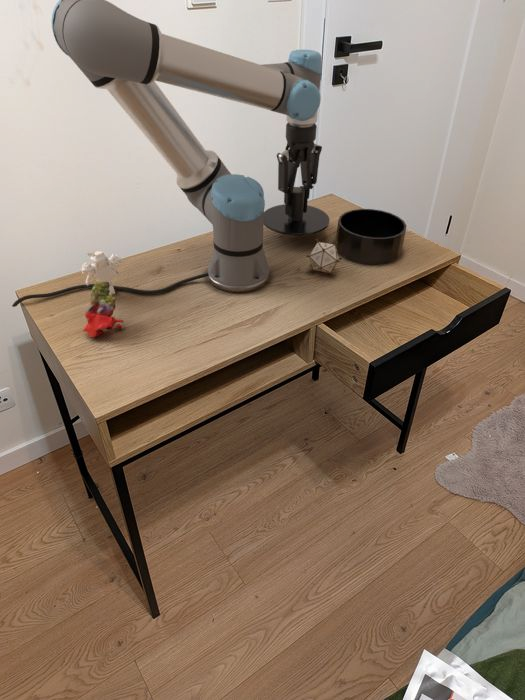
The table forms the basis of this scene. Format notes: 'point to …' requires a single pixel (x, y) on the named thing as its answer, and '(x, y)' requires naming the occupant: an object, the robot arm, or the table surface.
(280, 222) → the pan lid
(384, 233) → the pan
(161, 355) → the table surface
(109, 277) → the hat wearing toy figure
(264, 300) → the table surface
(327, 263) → the game die
